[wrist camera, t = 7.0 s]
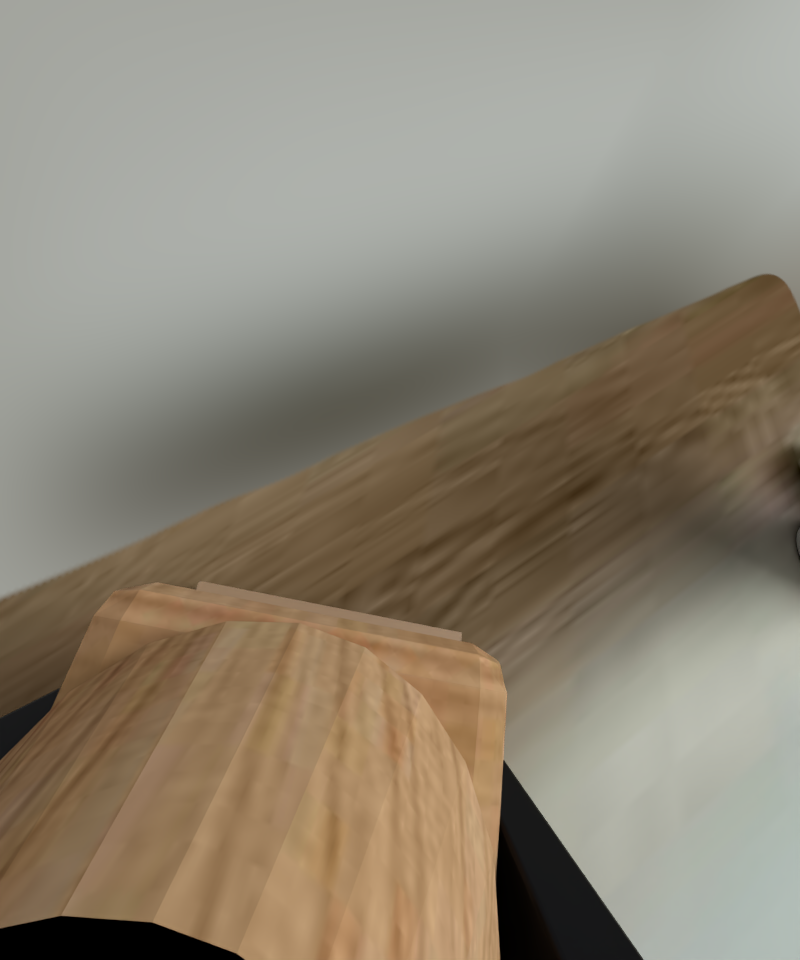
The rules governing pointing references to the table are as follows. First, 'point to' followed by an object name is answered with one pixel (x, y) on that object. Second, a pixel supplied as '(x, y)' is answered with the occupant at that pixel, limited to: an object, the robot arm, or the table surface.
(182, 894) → the decorative item
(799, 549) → the travel mug
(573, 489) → the table surface
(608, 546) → the table surface
